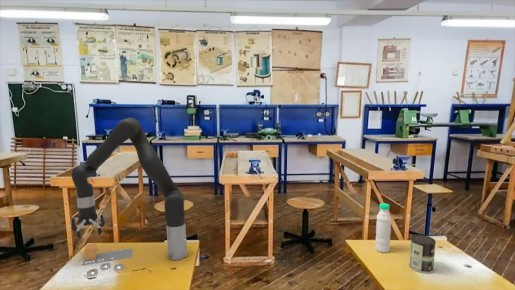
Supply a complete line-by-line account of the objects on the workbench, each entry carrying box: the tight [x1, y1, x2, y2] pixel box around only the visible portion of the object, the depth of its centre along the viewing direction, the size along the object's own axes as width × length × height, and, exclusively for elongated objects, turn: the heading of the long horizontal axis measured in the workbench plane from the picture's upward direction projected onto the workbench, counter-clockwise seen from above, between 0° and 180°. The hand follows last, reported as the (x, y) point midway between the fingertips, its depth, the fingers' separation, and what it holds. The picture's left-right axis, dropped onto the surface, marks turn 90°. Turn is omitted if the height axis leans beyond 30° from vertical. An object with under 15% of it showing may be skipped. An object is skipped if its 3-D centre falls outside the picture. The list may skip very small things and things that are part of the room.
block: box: [84, 243, 98, 260], centre depth 155 cm, size 4×4×6 cm
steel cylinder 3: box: [113, 263, 125, 272], centre depth 145 cm, size 4×4×2 cm
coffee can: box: [408, 234, 437, 274], centre depth 144 cm, size 10×10×14 cm
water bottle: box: [374, 202, 392, 254], centre depth 161 cm, size 7×7×25 cm
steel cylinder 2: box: [100, 262, 112, 271], centre depth 146 cm, size 4×4×2 cm
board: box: [81, 248, 133, 266], centre depth 156 cm, size 22×10×1 cm, turn 109°
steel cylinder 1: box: [86, 268, 99, 280], centre depth 141 cm, size 4×4×2 cm
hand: (90, 236), depth 154 cm, fingers open, 8 cm apart
